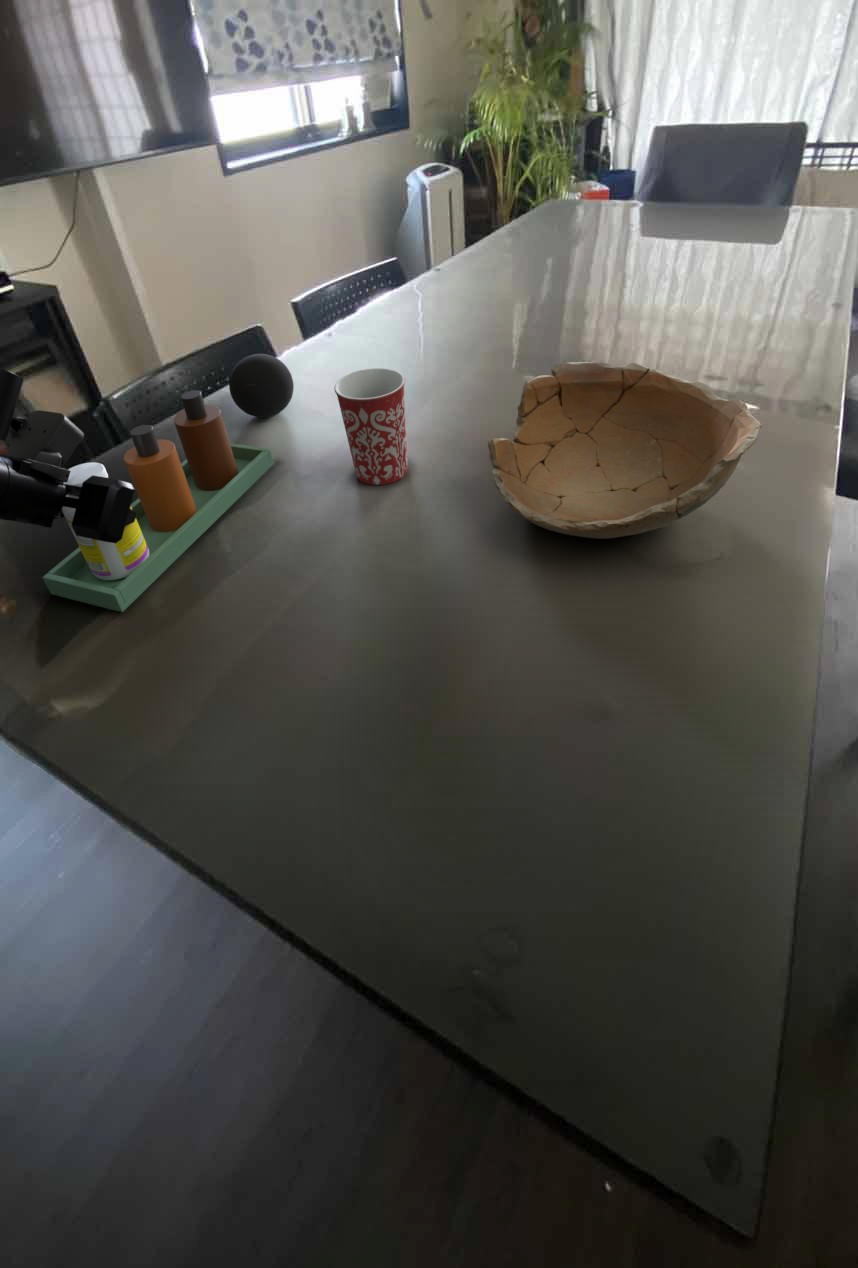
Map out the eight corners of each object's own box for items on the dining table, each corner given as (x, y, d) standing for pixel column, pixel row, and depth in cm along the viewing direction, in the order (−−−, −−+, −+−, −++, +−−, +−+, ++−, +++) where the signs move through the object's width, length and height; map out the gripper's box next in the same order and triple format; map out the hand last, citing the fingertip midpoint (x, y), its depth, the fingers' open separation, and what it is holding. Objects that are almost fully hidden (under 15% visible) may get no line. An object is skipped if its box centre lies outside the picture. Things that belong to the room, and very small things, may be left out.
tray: (122, 612, 75) (114, 595, 73) (50, 594, 78) (41, 577, 77) (274, 464, 98) (270, 448, 97) (213, 455, 102) (209, 440, 100)
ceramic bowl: (440, 506, 83) (448, 388, 76) (548, 443, 103) (562, 345, 95) (682, 604, 68) (721, 467, 61) (755, 509, 87) (791, 397, 80)
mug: (409, 490, 90) (398, 397, 82) (342, 489, 91) (326, 398, 84) (423, 442, 100) (414, 355, 92) (363, 442, 102) (349, 356, 94)
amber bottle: (177, 535, 85) (144, 445, 77) (139, 528, 87) (103, 439, 79) (206, 508, 89) (177, 420, 82) (170, 501, 91) (138, 415, 84)
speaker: (250, 435, 106) (234, 376, 100) (229, 412, 113) (213, 355, 107) (308, 415, 110) (296, 357, 104) (284, 394, 117) (272, 338, 111)
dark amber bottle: (222, 493, 92) (195, 407, 84) (186, 487, 94) (157, 402, 86) (247, 470, 96) (223, 386, 89) (212, 465, 98) (186, 382, 91)
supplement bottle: (151, 541, 84) (116, 452, 77) (150, 574, 79) (112, 481, 72) (94, 555, 83) (53, 465, 76) (89, 589, 78) (44, 495, 70)
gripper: (84, 411, 61) (194, 455, 76) (-58, 392, 68) (68, 436, 82) (51, 532, 60) (169, 553, 75) (-91, 501, 66) (43, 526, 81)
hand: (110, 512), depth 78 cm, fingers closed on supplement bottle, 7 cm apart
